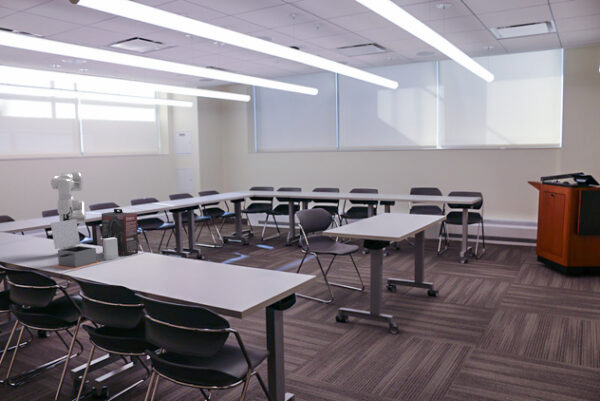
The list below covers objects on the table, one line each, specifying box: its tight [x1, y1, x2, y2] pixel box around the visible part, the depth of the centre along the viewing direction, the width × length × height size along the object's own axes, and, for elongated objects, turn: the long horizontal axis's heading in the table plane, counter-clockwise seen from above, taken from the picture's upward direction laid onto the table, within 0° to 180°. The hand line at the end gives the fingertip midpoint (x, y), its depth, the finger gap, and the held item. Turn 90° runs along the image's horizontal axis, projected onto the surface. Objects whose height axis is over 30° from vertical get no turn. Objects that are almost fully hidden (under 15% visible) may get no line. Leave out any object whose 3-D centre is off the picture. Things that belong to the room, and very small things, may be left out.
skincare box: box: [102, 237, 119, 261], centre depth 330 cm, size 8×6×15 cm
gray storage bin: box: [57, 245, 97, 268], centre depth 313 cm, size 16×24×10 cm
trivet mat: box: [50, 260, 103, 271], centre depth 314 cm, size 21×24×1 cm
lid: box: [50, 219, 81, 250], centre depth 317 cm, size 17×18×3 cm
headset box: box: [100, 208, 139, 257], centre depth 349 cm, size 24×13×33 cm, turn 62°
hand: (66, 223), depth 325 cm, fingers closed
